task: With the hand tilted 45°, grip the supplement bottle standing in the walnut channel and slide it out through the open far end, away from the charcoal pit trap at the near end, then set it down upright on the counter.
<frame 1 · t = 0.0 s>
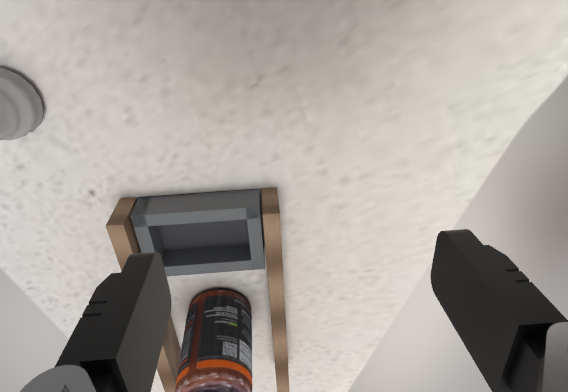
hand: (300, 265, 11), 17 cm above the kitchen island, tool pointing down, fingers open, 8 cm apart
walnut channel: (217, 293, 35), on the kitchen island
rook chess piece: (11, 99, 25), on the kitchen island
supplement bottle: (220, 306, 37), on the kitchen island
pit trap: (205, 224, 31), on the kitchen island
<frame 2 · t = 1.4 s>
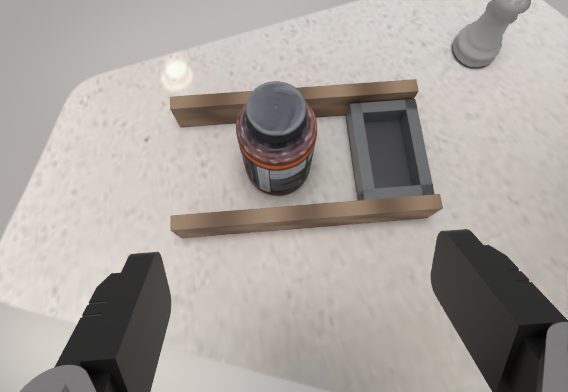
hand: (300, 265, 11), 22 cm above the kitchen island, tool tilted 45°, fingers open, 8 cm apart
walnut channel: (299, 164, 36), on the kitchen island
rook chess piece: (471, 52, 40), on the kitchen island
supplement bottle: (277, 167, 36), on the kitchen island
pit trap: (383, 158, 36), on the kitchen island
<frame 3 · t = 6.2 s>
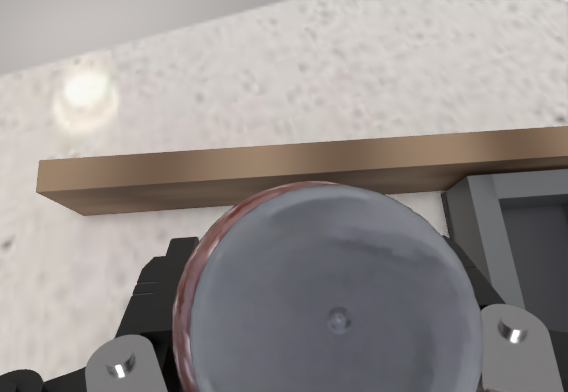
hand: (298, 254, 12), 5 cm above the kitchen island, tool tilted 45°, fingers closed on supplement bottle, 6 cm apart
walnut channel: (344, 308, 16), on the kitchen island
supplement bottle: (296, 312, 16), on the kitchen island, touching gripper
pit trap: (531, 293, 16), on the kitchen island
when the fingers open (6 cm above the kitchen island, at t = 11.3 s): supplement bottle stays where it is, on the kitchen island.
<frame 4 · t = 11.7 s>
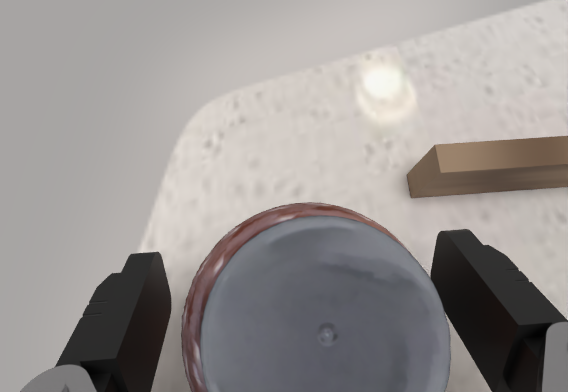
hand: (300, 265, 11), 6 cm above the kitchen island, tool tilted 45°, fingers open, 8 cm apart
supplement bottle: (295, 316, 17), on the kitchen island
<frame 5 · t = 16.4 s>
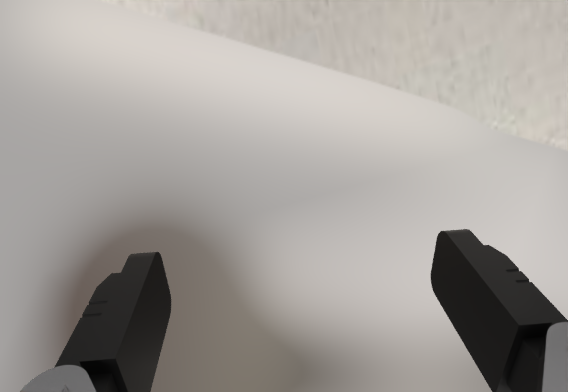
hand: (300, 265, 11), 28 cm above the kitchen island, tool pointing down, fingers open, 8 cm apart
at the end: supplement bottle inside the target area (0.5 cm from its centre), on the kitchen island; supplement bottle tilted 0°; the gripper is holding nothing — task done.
